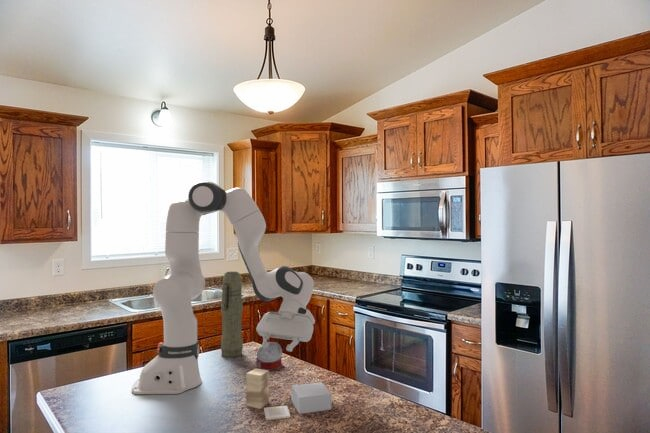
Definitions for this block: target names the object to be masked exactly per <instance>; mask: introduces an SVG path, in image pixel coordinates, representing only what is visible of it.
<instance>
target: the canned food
mask: <svg viewBox="0 0 650 433" xmlns="http://www.w3.org/2000/svg"><path fill="white" fill-rule="evenodd" d="M267 342H268V343H269V346H268V348H263V347H262V346H260V347H259V349H257V352H256V359H255V360H256V361H255V362H256V364H255V366H256V369H262V370H268V371H270V369H271V370H275V369H276V370H277V369H280V368H281V367H282V355H283V349H282V347H281V345H280V344H279V343H278V342H276V341H267Z"/></svg>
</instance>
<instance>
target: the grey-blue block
mask: <svg viewBox="0 0 650 433" xmlns="http://www.w3.org/2000/svg"><path fill="white" fill-rule="evenodd" d="M290 391H291V392H290V393H291V395H290V396H291V402H292V404H293V406H294V407H295V409H296V411H297V412H298V414H299V415H300V414H307V413H315V412H323V411H330V410H332V393H331V391H330V390H329V389H328V388H327V387H326V386H325V384H324V383H323V382H321V381H320V382H312V383H303V384H302V383H301V384H292V385H291V390H290Z"/></svg>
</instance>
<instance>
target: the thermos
mask: <svg viewBox="0 0 650 433" xmlns="http://www.w3.org/2000/svg"><path fill="white" fill-rule="evenodd" d="M221 292H222V293H221V295H222V299H221V302H220V303H221V304H220V308H221V310H220V313H221V316H222V317H221V319H222V333H221V334H222V336H221V340H220V350H221V357H222V358H224V359H235V358H236V359H237V358H240V357H241V356H243V349H244V348H243V347H244V345H243V344H244V343H243V341H244V340H243V336H242V314H244V312H243V310H244V308H243V306H244V305H243V297H242V277H241V274H240V272H238V271H226V272H224V275H223V278H222V290H221Z"/></svg>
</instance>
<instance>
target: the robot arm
mask: <svg viewBox="0 0 650 433" xmlns="http://www.w3.org/2000/svg"><path fill="white" fill-rule="evenodd" d="M218 211H220V212H222V213H223V214H224V215H225V216H226V217H227V218H228V220H229V223H230V224H231V226H232V228H233V229H234V232H235V235H236V239H237V246H238V249H239V253H240V255H241V258H242V260H243V262H244V265H245V267H246V270H247V272H248V274H249V277H250V279H251V284H252V288H253V289H252V290H253V292H254V294H255V296H256V297H257V298H258V299H259V300H261V301H263V302H270V301H273V300H275V299H277V298H279V297H281V298H282V302H281V303H280V307H279V310H278V311H268V312H266V313H264V314H263V315H262V317H261V319H260V321H259V322H258V324H257V326H256V328H255V330H256V333H257V334H258V335H259V336H260V337H262V344H261V347H263V348H268V346H269V343H268V342H269V341H268V340H270V338H274V339H281V340H290V341H292V342H291V343H290V344H287V345H286V347H285V350H286V351H287V352H293V349H294V348H295V347H296V346H297V345H298V344H299V342H303V343H304V342H306V343H308V342H309V341H310V340H311V339H312V335H313V333H314V327H315V326H314V324H315V323H316V320H315V317H314V315H313V314H312V313H311V311H310V309H308V308H307V305H308V304H309V302H310V301H311V298H312V295H313V293H314V287H315V286H314V285H315V283H314V282H315V281H314V279H313V277H312V276H311V275H310V274H309V273H307V272H304V271H296V270H293V269H292V268H291V267H290V266H287V265H286V266H285V265H283V266H280V267H277V268H275V269H273V270H270V271H268V270H266V267H265V266H264V263H263V261H262V258H261V255H260V254H259V244H260V241H261V240H262V238H263V237H264V235H265V232H266V229H267V223H266V220H265V218H264V215H263V213H262V212H261V210H260V208H259V206H258V205H257V203H256V202H255V200H254V198H252V196H251V195H250V193H248V192H247V190H246V189H244V188H242V187H234V188H231V189H228V190H225V189H223V188H222V187H221V186H219V185H218V184H217V183H215V182H213V181H208V180H206V181H205V180H204V181H203V180H202V181H199V182H196V183H195V184H193V185H192V186H191V187H190V189H189V191H188V197H187V199H179V200H176V201H174V202H172V203H171V204H170V205H169V208H168V211H167V212H168V213H167V217H166V224H165V243H164V244H165V246H164V249H165V250H164V253H165V257H166V258H167V260H168V262H169V266H170V272H171V273H169V274H166V275H164V276H163V277H161V278H160V279H159V280H157V282H156V283H154V285H153V288H152V296H153V298H154V301H155V302H156V303H157V304H158V306H159V308H160V311H161V312H160V313H161V316H162V320H163V342H161V341H160V342H159V343H158V345H157V350H156V351H157V355H156V356H155V357H154V358H153V359H151V360H150V361H148V363H146V364H145V365H144V366H143V368H142V369H141V371H140V375H139V379H137V380H136V381H135V382H133V384H132V387H131V392H132V393H133V394H134V395H177V394H181V393H184V392H185V391H188V390H190V389H193V388H197V387H199V385H201V383H202V382H203V380H202V377H201V372H200V367H199V354H200V353H199V352H200V346H199V341H198V319H197V317H196V316H195V314H194V310H193V306H192V300H194V299H197V298H198V297H199V296H200V295H201V294H202V293H203V291H204V290H205V289H206V279H205V276H204V275H203V272H202V268H201V262H200V256H199V255H200V254H199V246H200V245H199V244H200V242H199V240H200V233H199V232H200V220H201V218H202V216H205V215H208V214H214V213H215V212H218Z"/></svg>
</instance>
